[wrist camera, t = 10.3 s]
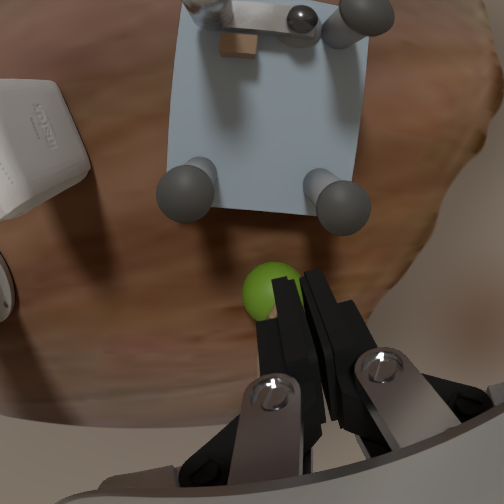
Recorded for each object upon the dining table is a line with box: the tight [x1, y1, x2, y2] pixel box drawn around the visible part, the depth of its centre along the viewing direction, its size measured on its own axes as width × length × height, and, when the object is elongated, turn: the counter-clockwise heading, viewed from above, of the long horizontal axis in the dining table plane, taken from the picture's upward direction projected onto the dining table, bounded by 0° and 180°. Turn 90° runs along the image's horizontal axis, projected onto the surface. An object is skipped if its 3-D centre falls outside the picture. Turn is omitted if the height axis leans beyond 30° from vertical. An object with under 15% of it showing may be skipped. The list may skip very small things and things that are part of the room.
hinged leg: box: [182, 0, 318, 40], centre depth 15 cm, size 8×3×8 cm, turn 85°
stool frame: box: [156, 0, 394, 236], centre depth 19 cm, size 17×14×9 cm
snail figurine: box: [242, 262, 304, 380], centre depth 25 cm, size 5×6×12 cm
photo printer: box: [0, 79, 91, 222], centre depth 18 cm, size 10×4×12 cm, turn 22°
